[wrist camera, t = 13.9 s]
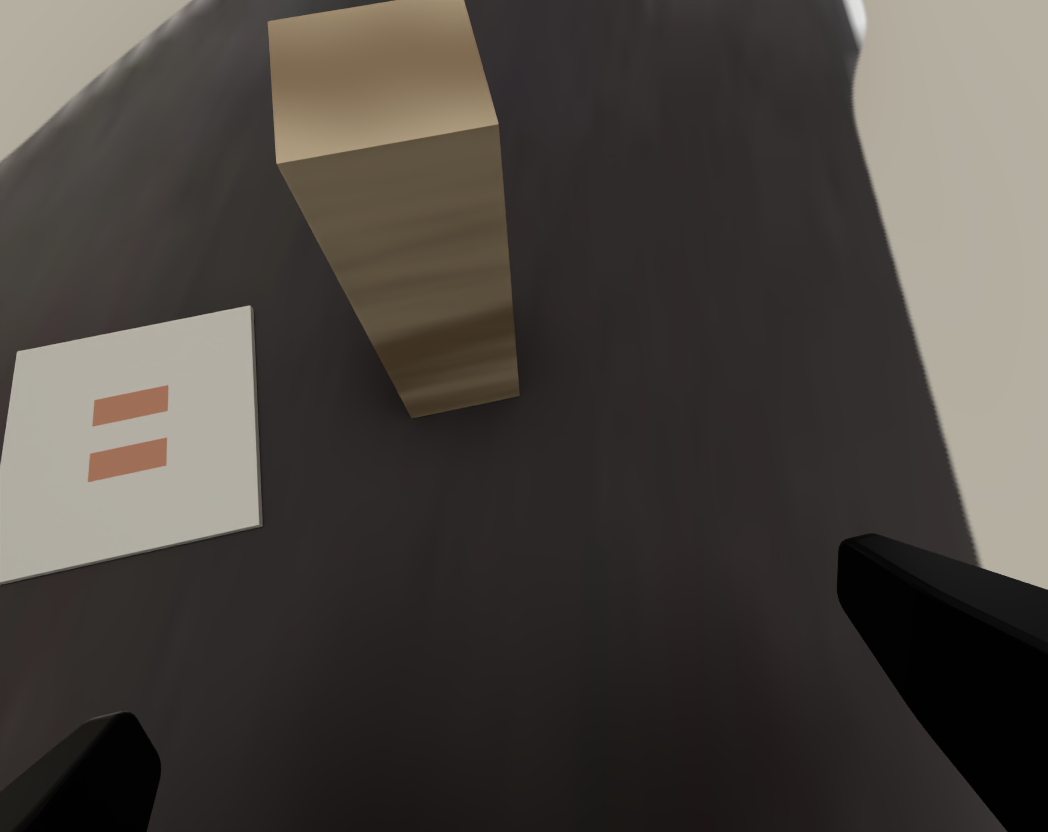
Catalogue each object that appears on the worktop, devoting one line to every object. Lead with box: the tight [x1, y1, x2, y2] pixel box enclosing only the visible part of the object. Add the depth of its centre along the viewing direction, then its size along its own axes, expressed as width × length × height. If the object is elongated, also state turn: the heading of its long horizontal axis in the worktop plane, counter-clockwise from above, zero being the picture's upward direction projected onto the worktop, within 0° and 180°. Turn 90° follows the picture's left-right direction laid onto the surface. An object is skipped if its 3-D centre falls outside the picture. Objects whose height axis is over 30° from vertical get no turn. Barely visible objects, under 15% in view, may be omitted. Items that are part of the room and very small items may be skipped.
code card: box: [0, 306, 263, 585], centre depth 23 cm, size 10×10×1 cm
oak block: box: [268, 0, 520, 418], centre depth 18 cm, size 4×4×13 cm
